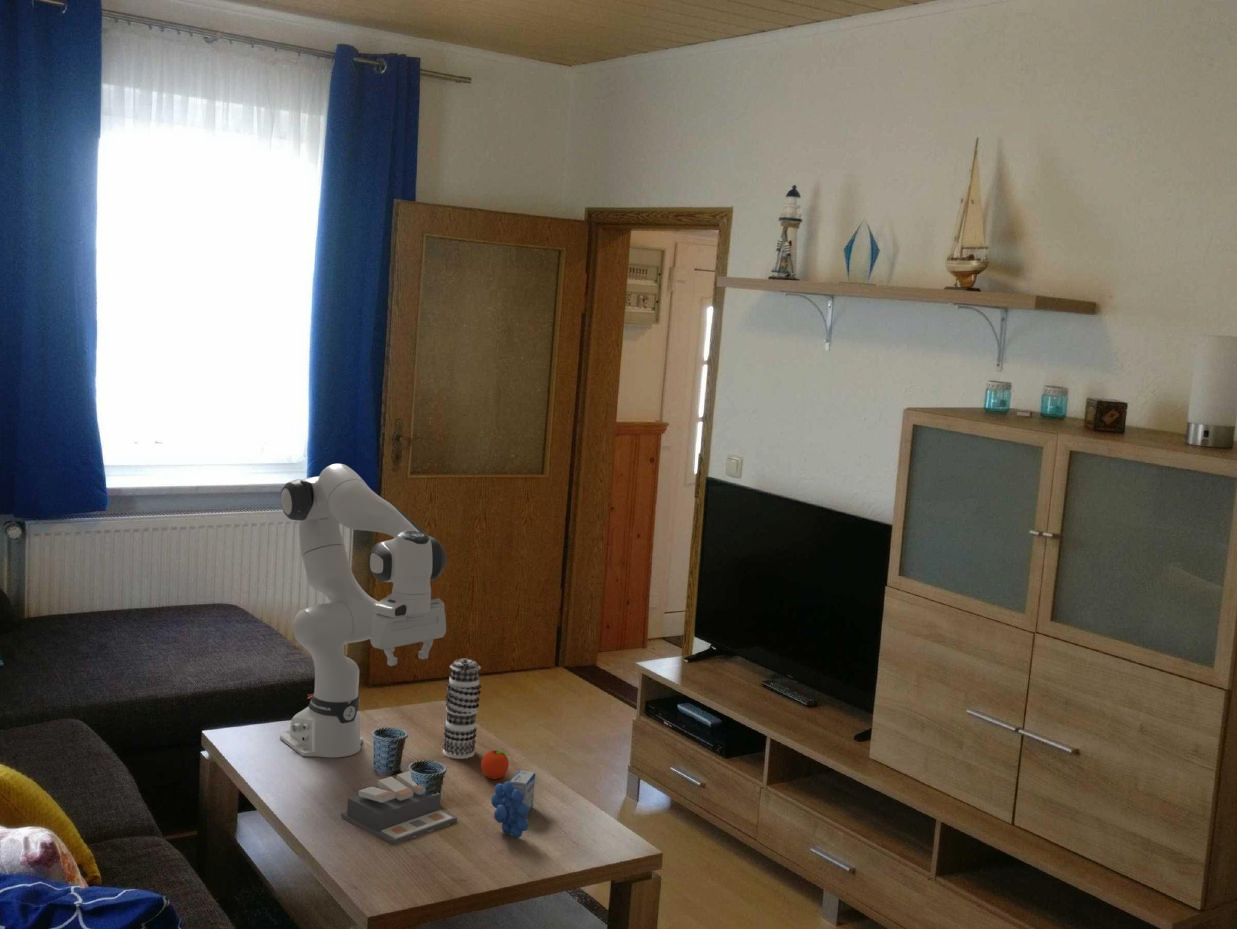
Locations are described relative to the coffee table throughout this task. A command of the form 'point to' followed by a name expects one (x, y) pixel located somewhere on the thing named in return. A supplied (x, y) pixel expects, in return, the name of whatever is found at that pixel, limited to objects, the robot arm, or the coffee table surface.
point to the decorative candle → (461, 709)
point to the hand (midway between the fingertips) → (407, 661)
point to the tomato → (495, 764)
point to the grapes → (510, 809)
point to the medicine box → (525, 786)
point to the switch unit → (397, 816)
